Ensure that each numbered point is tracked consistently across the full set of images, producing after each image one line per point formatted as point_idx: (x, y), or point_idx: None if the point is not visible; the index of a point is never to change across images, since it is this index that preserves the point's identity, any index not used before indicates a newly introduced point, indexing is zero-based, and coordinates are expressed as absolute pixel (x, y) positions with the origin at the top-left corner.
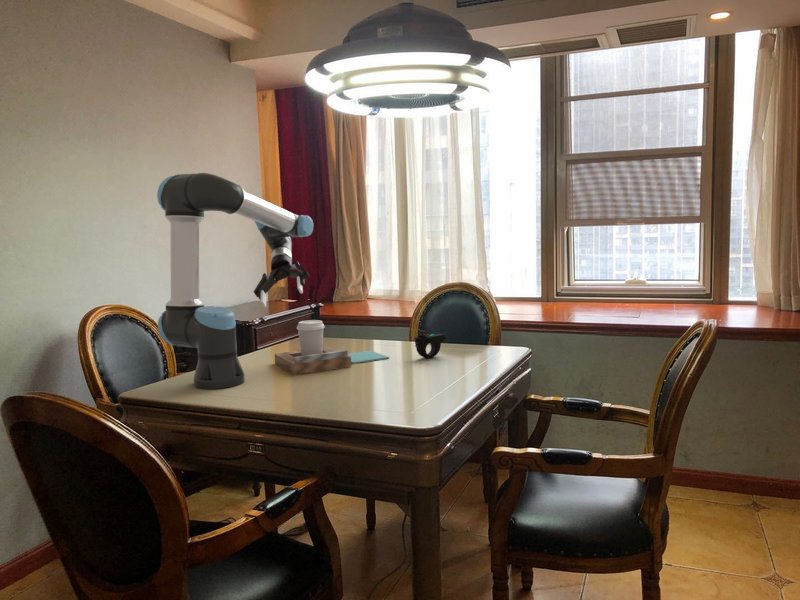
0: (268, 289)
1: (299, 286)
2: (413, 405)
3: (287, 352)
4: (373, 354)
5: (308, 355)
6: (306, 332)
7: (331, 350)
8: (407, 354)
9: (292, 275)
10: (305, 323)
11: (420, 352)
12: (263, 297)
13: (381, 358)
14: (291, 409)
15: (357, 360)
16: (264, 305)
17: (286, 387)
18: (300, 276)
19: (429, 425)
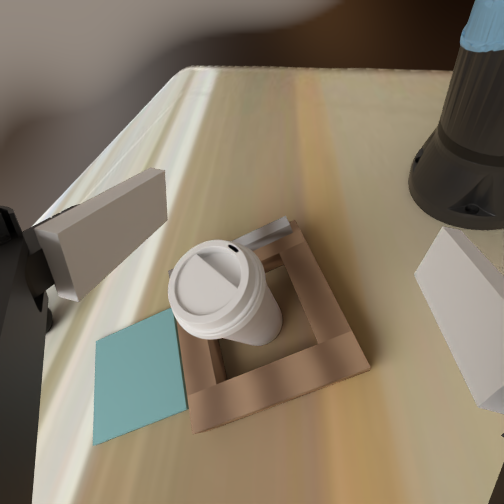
0: (498, 497)
1: (143, 174)
2: (172, 109)
3: (325, 376)
4: (108, 383)
5: (257, 235)
6: (237, 251)
7: (194, 363)
8: (52, 376)
9: (15, 431)
10: (227, 247)
11: (49, 309)
12: (464, 277)
13: (112, 334)
14: (295, 81)
15: (159, 323)
16: (426, 260)
17: (309, 157)
18: (24, 240)
19: (180, 72)
